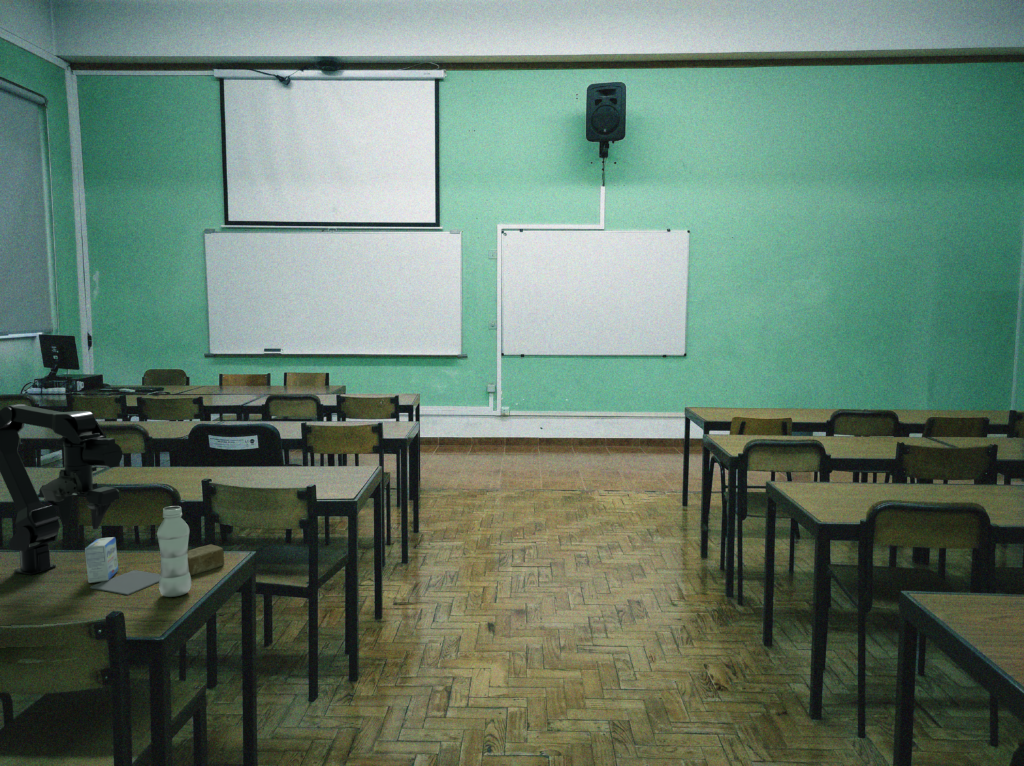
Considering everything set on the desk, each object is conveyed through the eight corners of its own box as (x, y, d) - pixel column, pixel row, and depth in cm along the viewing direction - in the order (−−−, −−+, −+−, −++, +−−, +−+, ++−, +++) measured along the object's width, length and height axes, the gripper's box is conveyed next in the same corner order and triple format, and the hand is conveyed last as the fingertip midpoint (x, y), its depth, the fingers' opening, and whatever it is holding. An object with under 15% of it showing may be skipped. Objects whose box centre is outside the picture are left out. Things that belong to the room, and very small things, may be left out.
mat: (89, 588, 162) (89, 586, 162) (134, 571, 173) (134, 569, 173) (127, 595, 158) (127, 593, 158) (170, 577, 169) (170, 576, 169)
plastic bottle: (166, 589, 161) (162, 504, 159) (196, 589, 161) (193, 504, 160) (153, 600, 155) (149, 512, 153) (185, 600, 155) (181, 511, 153)
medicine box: (108, 581, 165) (105, 545, 165) (87, 583, 164) (84, 547, 164) (118, 570, 173) (115, 536, 173) (98, 573, 172) (95, 538, 171)
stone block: (171, 574, 172) (170, 554, 171) (213, 561, 181) (212, 542, 181) (185, 578, 168) (184, 558, 168) (227, 565, 178) (226, 546, 178)
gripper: (16, 467, 163) (19, 532, 165) (80, 474, 158) (82, 541, 160) (59, 458, 174) (61, 519, 175) (120, 464, 169) (121, 527, 170)
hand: (80, 527), depth 170 cm, fingers open, 9 cm apart
